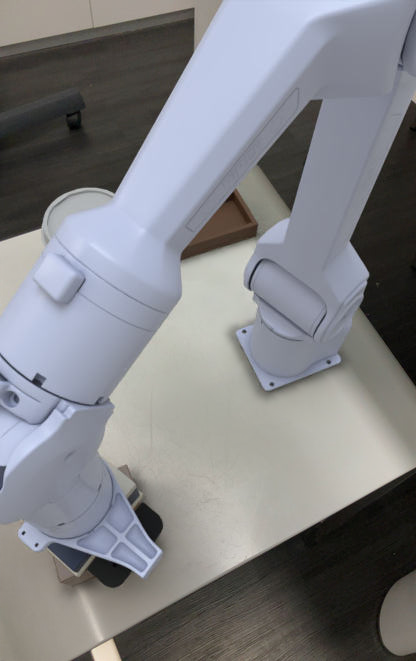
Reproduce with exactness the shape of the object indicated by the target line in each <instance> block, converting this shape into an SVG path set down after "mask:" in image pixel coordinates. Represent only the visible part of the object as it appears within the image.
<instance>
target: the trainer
mask: <svg viewBox="0 0 416 661" xmlns="http://www.w3.org/2000/svg"><path fill="white" fill-rule="evenodd" d="M99 455H100V457H101V458H102V459H103V460H104V461H105V462H106V463H107V465H108V466H109V468H110V469H111V471H112V473H113V474H114V476H115V478H116V480H117V482H118V483H119V485H120V487H121V489H122V491H123V492H124V494H125V496H126V498H127V500H128V502H129V503H130V505H131V507H132V509H134V508H135V506H136V505H137V504H138V503H139V501H142V500H143V497H144V494H143V492H141V490H139V488H138V486H137V484H136V482H133V481H134V480H133V481H132V480H131V479H129V478H128V477H127V476H126V475H124V474H123V473H122V472H121V471H120V470H118V469H117V468H118V467H116V466H115V465H113V464H112V463H111V462H110V461H109V460H107V459H106V458H105V457H104V456H103V455H101V454H99ZM45 550H47V551H48V552H49V553H50V554H51V555H52V554H53V555H54V556H55V557H56V558H57V559H58V560H59V561H60V562H61V563H62V564H64V565H65V566H66V567H67V568H68V569H69V570H70V571H71V572H72V573H73V574H74V575H76V576H77V577H80V575H81V574H82V573H83V572H84V570H85V569H86V568H87V567H88V565H89V564H90V563H91V561H92V560H93V559H94V558H95V556H94V555H91V554H88V553H85V552H82V551H79V550H77V549H74V548H71V547H68V546H65V545H62V544H59V543H51V544H50V545H49V546H48V547H47V548H46V549H45ZM53 555H52V556H53Z"/></svg>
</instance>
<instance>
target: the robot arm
mask: <svg viewBox="0 0 416 661" xmlns="http://www.w3.org/2000/svg"><path fill="white" fill-rule="evenodd" d="M415 92H416V0H222V2H221V3H220V6H219V7H218V9H217V11H216V12H215V14H214V16H213V18H212V19H211V21H210V24H209V25H208V27H207V28H206V30H205V32H204V34H203V35H202V38H201V40H200V41H199V43H198V44H197V47H196V49H195V50H194V52H193V53H192V56H191V57H190V59H189V61H188V63H187V65H186V66H185V68H184V70H183V71H182V73H181V75H180V77H179V79H178V80H177V82H176V84H175V86H174V88H173V89H172V91H171V93H170V95H169V97H168V98H167V100H166V102H165V104H164V106H163V107H162V109H161V111H160V113H159V115H158V116H157V118H156V119H155V122H154V123H153V125H152V127H151V128H150V131H149V132H148V133H147V136H146V138H145V139H144V141H143V143H142V145H141V147H140V149H139V150H138V152H137V154H136V156H135V157H134V159H133V161H132V162H131V165H130V166H129V168H128V170H127V172H126V173H125V175H124V177H123V178H122V181H121V182H120V184H119V185H118V188H117V190H116V191H115V192H114V194H115V195H114V197H113V198H112V200H111V201H110V202H109V203H107V204H105V205H102V206H99V207H95V208H91V209H88V210H84V211H80V212H76V213H73V214H70V215H68V216H66V217H65V218H64V220H63V221H62V223H61V224H60V226H59V227H58V229H57V231H56V232H55V234H54V235H53V237H52V238H51V240H50V241H49V243H48V244H47V246H46V247H45V246H44V249H43V250H42V252H41V254H40V255H39V256H38V258H37V260H35V262H34V264H33V265H32V267H31V269H30V270H29V272H28V273H27V274H26V276H25V278H24V279H23V281H22V282H21V284H20V285H19V287H18V288H17V290H16V291H15V293H14V294H13V296H12V297H11V299H10V301H8V303H7V305H6V306H5V308H4V310H3V311H2V313H0V525H1V526H3V525H4V526H5V525H6V526H7V525H10V524H14V523H16V522H17V523H18V522H19V521H21V520H22V521H24V522H23V524H22V525H20V527H19V529H18V530H17V537H18V539H19V540H20V541H21V542H22V543H24V544H25V546H27V547H28V548H29V549H30V550H31V551H33V552H34V553H37V554H38V553H43V552H44V551H45V550H47V549H46V548H47V547H48V546H49V545H50V544H51V543H59V544H62V545H65V546H68V547H71V548H74V549H77V550H79V551H82V552H85V553H88V554H91V555H94V556H97V557H96V558H95V559H94V561H93V562H92V563H91V564H90V566H89V567H88V568H87V570H88V571H89V572H90V573H91V574H93V575H94V576H95V577H94V578H96V579H97V580H98V581H99V582H100V583H101V584H102V585H104V586H105V587H108V588H110V589H116V588H119V587H120V586H122V585H123V584H124V583H125V582H126V581H127V579H128V578H129V577H130V575H131V574H132V573H133V572H134V573H135V574H136V575H137V576H139V577H140V578H141V579H142V580H144V581H146V580H147V579H148V577H149V576H150V575H151V573H152V572H153V570H154V569H155V567H157V565H158V564H159V562H160V561H161V559H162V558H163V557H164V556H165V555H164V551H163V550H162V549H161V548H160V547H159V546H158V545H157V544H156V541H157V539H158V538H159V536H160V535H162V534H161V533H162V532H163V529H164V522H163V519H162V517H161V515H160V514H158V513H157V512H156V511H155V510H154V509H152V507H150V506H149V505H148V504H146V503H145V502H143V501H141V504H140V505H139V506H138V508H137V509H136V510H135V511H133V509H132V507H131V505H130V503H129V502H128V500H127V498H126V496H125V494H124V492H123V491H122V489H121V487H120V485H119V483H118V482H117V480H116V478H115V476H114V474H113V473H112V471H111V469H110V468H109V466H108V465H107V463H106V462H105V461H104V460H103V459H102V458H101V457H100V455H101V454H100V453H99V451H98V450H99V448H100V446H101V445H102V442H103V440H104V437H105V432H106V426H107V424H108V421H109V419H111V417H112V415H113V414H114V410H115V408H116V405H115V404H114V403H112V401H111V398H110V397H111V395H112V394H113V392H114V391H115V390H116V388H117V387H118V386H119V384H120V383H121V382H122V380H123V379H124V378H125V376H126V375H127V373H128V372H129V371H130V369H131V368H132V366H133V365H134V364H135V362H136V361H137V359H138V358H139V357H140V355H141V354H142V353H143V351H144V350H145V349H146V348H147V346H148V345H149V343H150V342H151V341H152V339H153V338H154V336H155V335H156V333H157V332H158V331H159V330H160V329H161V327H162V325H163V323H164V322H165V321H166V320H167V319H168V317H169V315H170V314H171V313H172V312H173V311H174V309H175V307H176V306H177V305H178V303H179V302H180V300H181V299H182V296H183V282H182V270H181V260H180V257H181V253H182V251H183V250H184V249H185V248H186V246H187V245H188V244H189V243H190V242H191V241H192V239H193V238H194V237H195V236H196V235H197V233H198V232H199V231H200V230H201V229H202V228H203V226H204V225H205V224H206V223H207V222H208V220H209V219H210V218H211V217H212V216H213V215H214V213H215V212H216V211H217V210H218V209H219V207H220V206H221V205H222V204H223V203H224V202H225V200H226V199H227V198H228V197H229V196H230V194H231V193H232V192H233V191H234V190H235V189H236V188H238V186H240V184H241V183H242V181H243V180H245V178H246V177H247V176H248V174H250V172H251V171H252V170H253V169H254V167H255V166H256V165H257V164H258V163H259V161H260V160H261V159H262V158H263V157H264V156H265V155H266V153H267V152H268V151H269V149H271V147H273V145H274V144H275V143H276V141H277V140H278V139H279V138H280V137H281V135H282V134H283V133H284V132H285V131H286V129H287V128H288V127H289V126H290V125H291V124H292V123H293V121H294V120H295V119H296V118H297V117H298V115H299V114H301V112H302V111H303V110H304V109H305V107H306V106H307V105H308V104H309V102H310V101H318V100H321V104H320V109H319V112H318V116H317V120H316V122H315V127H314V130H313V133H312V138H311V141H310V145H309V149H308V151H307V156H306V159H305V163H304V165H303V170H302V173H301V177H300V180H299V184H298V188H297V191H296V195H295V197H294V198H295V199H294V202H293V206H292V209H291V212H290V216H289V217H286V218H284V219H282V220H280V221H278V222H276V224H274V225H272V226H271V227H270V228H269V229H268V230H267V231H266V232H264V233H263V235H261V236H260V237H259V238H258V240H257V242H256V245H255V248H254V250H253V253H252V254H251V256H250V258H249V260H248V262H247V263H246V266H245V268H244V271H243V286H244V288H245V289H246V290H248V291H250V292H253V294H252V301H253V302H254V303H255V304H256V306H257V308H256V311H255V312H256V313H255V318H254V322H253V324H251V325H247V326H245V327H242V328H239V329H237V330H236V331H235V336H236V339H237V341H238V343H239V345H240V346H241V349H242V350H243V352H244V354H245V356H246V359H247V361H248V362H249V365H250V366H251V368H252V370H253V372H254V374H255V377H256V378H257V379H258V381H259V384H260V385H261V387H262V389H263V390H264V391H265V392H271V391H274V390H276V389H279V388H281V387H284V386H286V385H288V384H291V383H294V382H296V381H298V380H301V379H304V378H306V377H309V376H311V375H314V374H316V373H320V372H322V371H324V370H327V369H330V368H333V367H335V366H336V365H339V364H340V363H341V362H342V358H341V356H340V354H339V351H340V350H341V347H342V346H343V344H344V342H345V341H346V338H347V337H348V335H349V333H350V331H351V329H352V327H353V316H354V315H355V314H356V312H357V310H358V309H359V307H360V306H361V304H362V302H363V300H364V292H365V290H366V287H367V284H368V279H369V278H370V272H369V271H368V269H367V267H366V265H365V264H364V261H362V260H361V258H360V256H359V253H357V251H356V250H355V247H354V246H353V244H352V243H351V241H350V240H351V238H352V236H353V234H354V232H355V229H356V227H357V224H358V222H359V220H360V218H361V215H362V213H363V211H364V209H365V206H366V204H367V201H368V199H369V197H370V195H371V193H372V190H373V188H374V186H375V183H376V181H377V180H378V177H379V174H380V173H381V170H382V168H383V165H384V163H385V161H386V158H387V157H388V154H389V152H390V150H391V147H392V145H393V142H394V140H395V138H396V136H397V133H398V131H399V129H400V127H401V124H402V122H403V120H404V117H405V115H406V113H407V111H408V108H409V106H410V104H411V102H412V99H413V97H414V95H415ZM244 332H245V333H244ZM328 362H329V363H328ZM271 384H272V385H271ZM154 542H155V543H154Z"/></svg>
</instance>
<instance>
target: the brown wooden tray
mask: <svg viewBox="0 0 416 661" xmlns="http://www.w3.org/2000/svg"><path fill="white" fill-rule="evenodd" d="M237 188H238V187H236V189H235V190H234V191H233V192H232V193H231V194H230V196H229V197H228V198H227V199H226V200H225V202H224V203H223V204H222V205H221V206H220V207H219V209H218V210H217V211H216V212H215V213H214V215H213V216H212V217H211V218H210V219H209V220H208V222H207V223H206V224H205V225H204V226H203V228H202V229H201V230H200V231H199V232H198V233H197V235H196V236H195V237H194V238H193V239H192V241H191V242H190V243H189V244H188V245H187V246H186V248H185V249H184V250H183V251H182V253H181V257H180V261H182V260H186V259H189V258H192V257H195V256H199V255H201V254H205V253H208V252H211V251H213V250H217V249H220V248H223V247H226V246H231V245H233V244H236V243H239V242H242V241H245V240H248V239H251V238H254V237H257V236H258V234H257V233H258V227H259V223H258V221H257V220H256V218H255V216H254V214H253V213H252V211H251V210H250V208H249V206H248V205H247V203H246V202H245V200H244V198H243V197H242V195H241V194H240V191H239V190H238V189H237Z"/></svg>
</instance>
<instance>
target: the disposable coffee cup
mask: <svg viewBox="0 0 416 661" xmlns="http://www.w3.org/2000/svg"><path fill="white" fill-rule="evenodd" d="M114 195H115V192H112V191H109V190H108V189H104V188H99V187H81V188H76V189H74V190H71V191H68V192H65V193H63V194H62V195H60V196H58V197H57V198H55V199H54V200H53V201H52V202H51V203H50V205H49V206H48V207H47V208H46V210H45V213H44V215H43V218H42V223H41V229H40V236H41V241H42V244H43V246H44V248H45V247H46V246H47V244H48V243H49V241H50V240H51V238H52V237H53V235H54V234H55V232H56V231H57V229H58V227H59V226H60V224H61V223H62V221H63V220H64V218H65V217H66V216H68V215H70V214H73V213H76V212H80V211H84V210H88V209H91V208H95V207H99V206H102V205H105V204H107V203H109V202H110V201H111V200H112V198H113V197H114Z"/></svg>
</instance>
